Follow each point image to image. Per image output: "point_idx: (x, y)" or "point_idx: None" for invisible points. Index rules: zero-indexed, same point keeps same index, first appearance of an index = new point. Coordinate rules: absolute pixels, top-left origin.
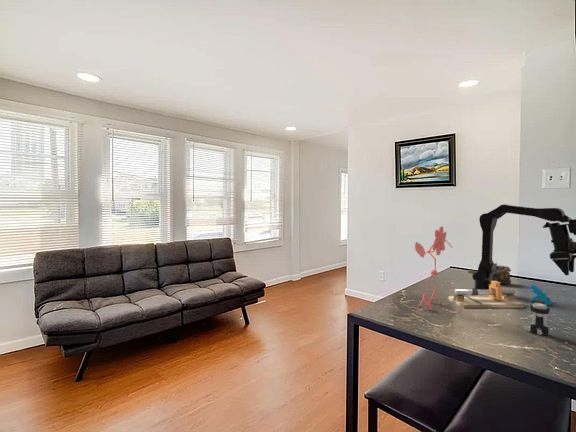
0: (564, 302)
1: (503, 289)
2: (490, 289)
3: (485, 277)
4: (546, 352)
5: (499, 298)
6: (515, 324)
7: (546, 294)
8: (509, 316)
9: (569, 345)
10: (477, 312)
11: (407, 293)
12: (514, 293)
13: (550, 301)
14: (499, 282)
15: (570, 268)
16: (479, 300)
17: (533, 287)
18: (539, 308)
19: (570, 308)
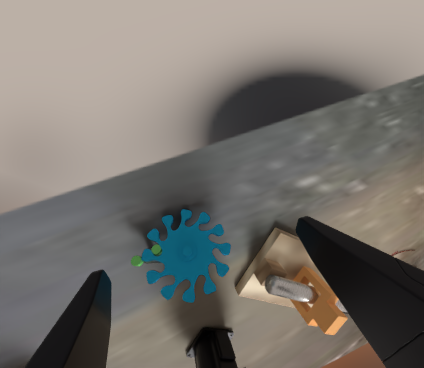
0: (88, 206)
1: (300, 296)
2: None
3: None
4: None
5: (310, 270)
6: (405, 173)
7: (143, 253)
8: (364, 204)
9: None
10: (376, 242)
11: (344, 347)
12: (275, 276)
13: (167, 221)
14: (339, 316)
15: (101, 318)
16: (326, 282)
17: (207, 284)
18: None
19: (160, 164)
